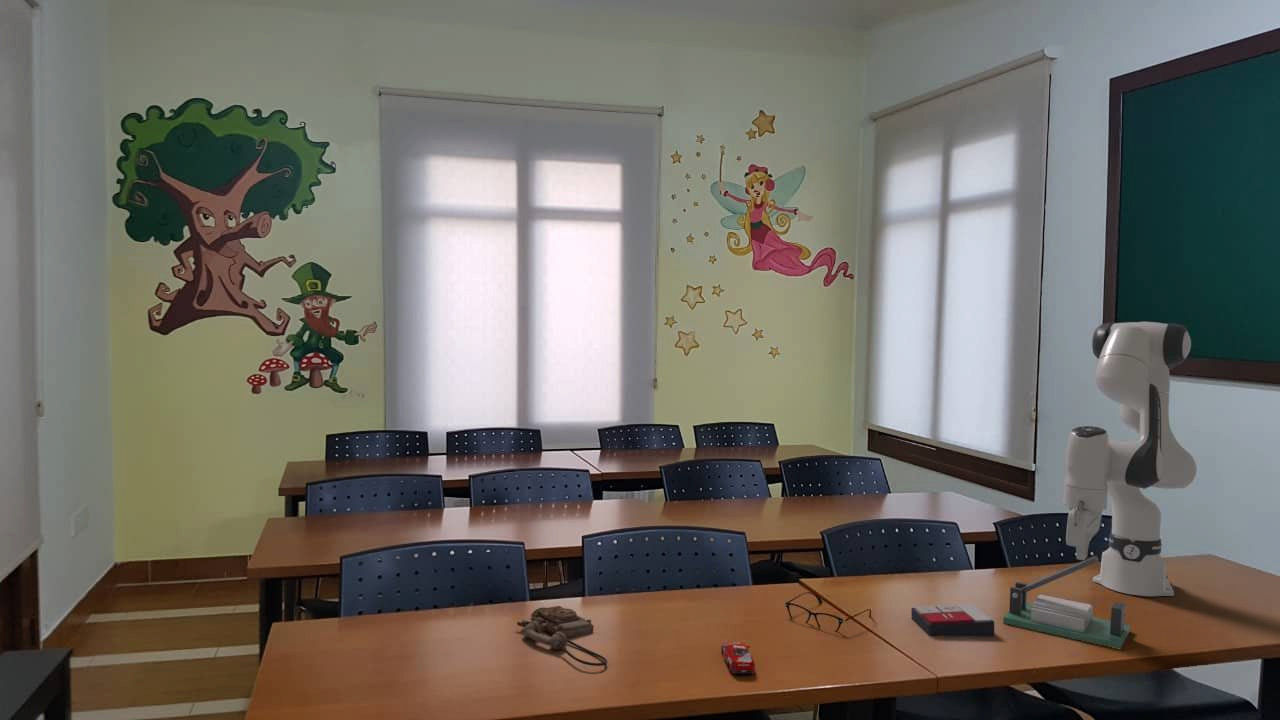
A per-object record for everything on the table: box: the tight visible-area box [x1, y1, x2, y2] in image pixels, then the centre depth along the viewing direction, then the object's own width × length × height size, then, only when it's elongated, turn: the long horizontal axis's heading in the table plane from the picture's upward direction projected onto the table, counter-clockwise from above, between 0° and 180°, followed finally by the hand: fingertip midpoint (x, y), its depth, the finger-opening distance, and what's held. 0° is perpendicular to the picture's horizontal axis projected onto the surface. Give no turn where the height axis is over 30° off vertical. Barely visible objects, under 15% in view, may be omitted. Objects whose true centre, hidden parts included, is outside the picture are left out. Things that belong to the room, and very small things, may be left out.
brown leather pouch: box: [516, 605, 608, 667], centre depth 181 cm, size 15×33×4 cm, turn 37°
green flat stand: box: [1002, 581, 1131, 649], centre depth 195 cm, size 14×24×8 cm, turn 53°
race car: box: [721, 641, 756, 675], centre depth 171 cm, size 13×5×4 cm, turn 3°
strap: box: [1021, 555, 1100, 594], centre depth 196 cm, size 3×20×1 cm
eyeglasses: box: [784, 592, 872, 633], centre depth 199 cm, size 16×16×4 cm
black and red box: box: [911, 603, 995, 637], centre depth 194 cm, size 11×4×15 cm
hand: (1081, 558), depth 193 cm, fingers closed
